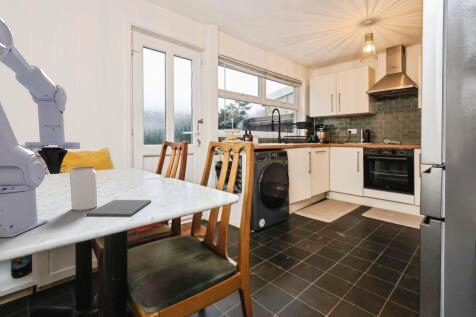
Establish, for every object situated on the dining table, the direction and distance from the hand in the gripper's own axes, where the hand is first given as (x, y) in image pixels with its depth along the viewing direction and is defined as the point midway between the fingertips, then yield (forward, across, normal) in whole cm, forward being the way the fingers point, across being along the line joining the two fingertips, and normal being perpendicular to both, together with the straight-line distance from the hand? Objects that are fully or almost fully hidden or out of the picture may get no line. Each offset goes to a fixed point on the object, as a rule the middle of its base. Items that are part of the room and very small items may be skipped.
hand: (54, 173), depth 69 cm
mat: (+10, -20, 0) cm, 22 cm away
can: (+10, -8, 0) cm, 13 cm away
